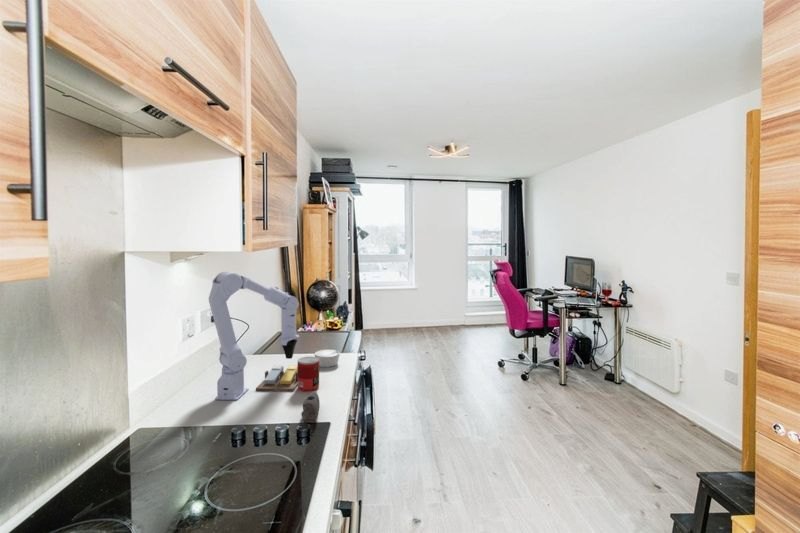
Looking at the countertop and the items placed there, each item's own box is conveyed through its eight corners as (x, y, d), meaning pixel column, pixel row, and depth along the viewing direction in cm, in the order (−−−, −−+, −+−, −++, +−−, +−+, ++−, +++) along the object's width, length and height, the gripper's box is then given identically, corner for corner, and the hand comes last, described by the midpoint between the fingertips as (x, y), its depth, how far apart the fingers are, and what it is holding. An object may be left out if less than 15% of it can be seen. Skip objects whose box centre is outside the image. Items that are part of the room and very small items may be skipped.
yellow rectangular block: (291, 384, 136) (290, 379, 136) (279, 383, 136) (279, 379, 136) (298, 369, 146) (298, 365, 146) (288, 369, 146) (287, 365, 146)
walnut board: (293, 391, 133) (293, 379, 133) (255, 390, 133) (255, 379, 133) (305, 375, 149) (305, 365, 149) (271, 375, 149) (271, 364, 149)
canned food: (317, 391, 133) (317, 362, 132) (295, 392, 133) (295, 362, 132) (320, 383, 141) (320, 356, 140) (299, 384, 140) (299, 356, 140)
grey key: (275, 383, 136) (275, 379, 136) (264, 383, 136) (263, 379, 136) (283, 369, 146) (283, 365, 146) (273, 369, 146) (273, 365, 146)
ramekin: (340, 367, 160) (340, 355, 160) (314, 369, 157) (314, 357, 157) (338, 359, 171) (338, 348, 171) (314, 361, 168) (314, 350, 168)
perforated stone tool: (306, 405, 122) (306, 385, 122) (322, 404, 123) (322, 385, 122) (299, 427, 107) (299, 405, 107) (317, 427, 108) (317, 404, 107)
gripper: (293, 329, 138) (293, 364, 139) (303, 321, 152) (303, 352, 153) (275, 329, 138) (275, 363, 138) (286, 321, 152) (287, 352, 153)
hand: (289, 358), depth 146 cm, fingers closed
